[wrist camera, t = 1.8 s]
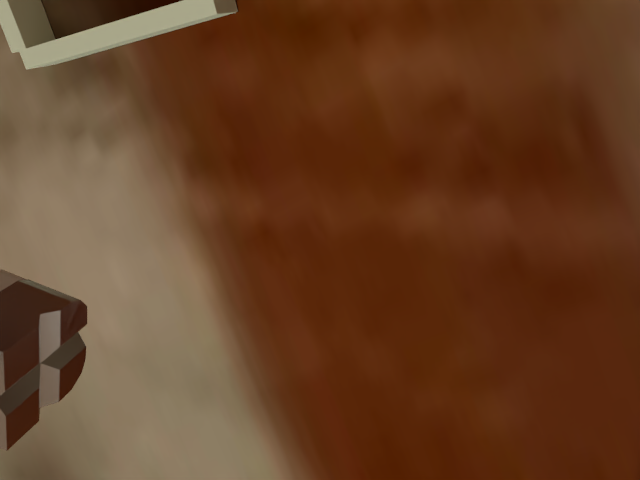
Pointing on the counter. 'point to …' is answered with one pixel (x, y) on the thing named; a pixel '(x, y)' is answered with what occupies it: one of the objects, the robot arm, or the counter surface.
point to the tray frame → (96, 29)
